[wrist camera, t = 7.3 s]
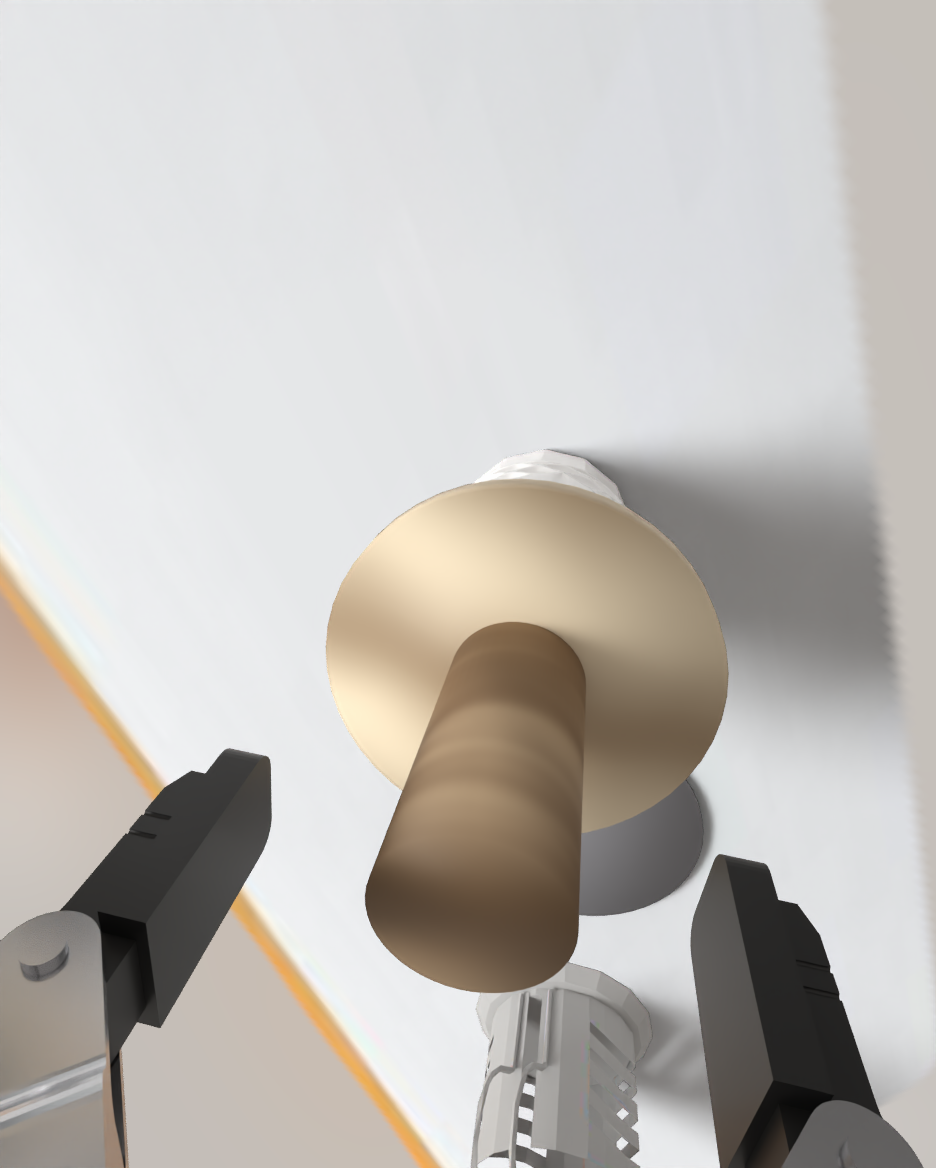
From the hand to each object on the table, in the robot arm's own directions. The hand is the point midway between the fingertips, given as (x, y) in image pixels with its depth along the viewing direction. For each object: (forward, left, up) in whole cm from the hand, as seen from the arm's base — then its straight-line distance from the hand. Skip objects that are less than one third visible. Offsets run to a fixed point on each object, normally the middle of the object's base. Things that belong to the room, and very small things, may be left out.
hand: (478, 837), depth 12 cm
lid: (0, 0, -6) cm, 6 cm away
